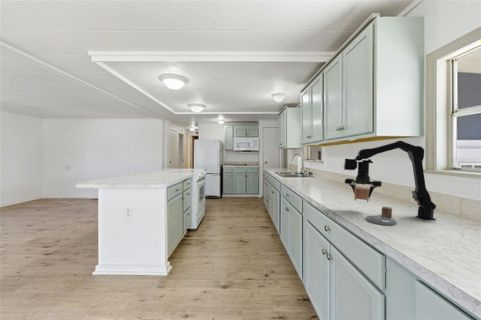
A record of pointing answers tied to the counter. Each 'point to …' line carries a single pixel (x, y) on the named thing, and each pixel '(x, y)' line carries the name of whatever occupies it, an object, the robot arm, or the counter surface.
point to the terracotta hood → (362, 193)
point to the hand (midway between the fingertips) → (362, 196)
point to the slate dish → (381, 220)
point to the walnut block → (387, 212)
